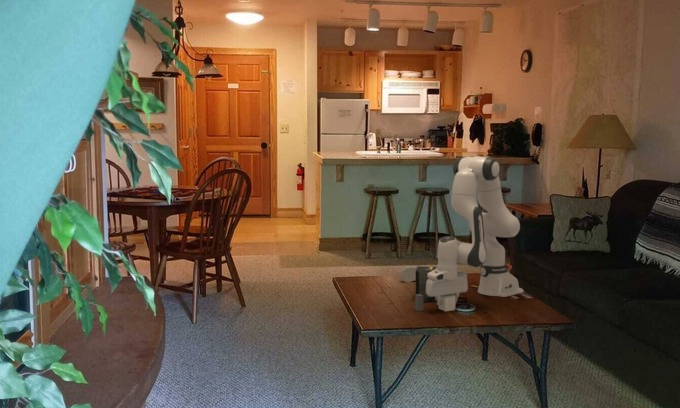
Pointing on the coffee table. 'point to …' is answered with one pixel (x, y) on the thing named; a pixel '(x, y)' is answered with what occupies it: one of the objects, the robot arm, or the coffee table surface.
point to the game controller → (409, 273)
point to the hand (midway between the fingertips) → (446, 303)
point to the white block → (447, 302)
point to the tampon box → (423, 282)
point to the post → (419, 302)
